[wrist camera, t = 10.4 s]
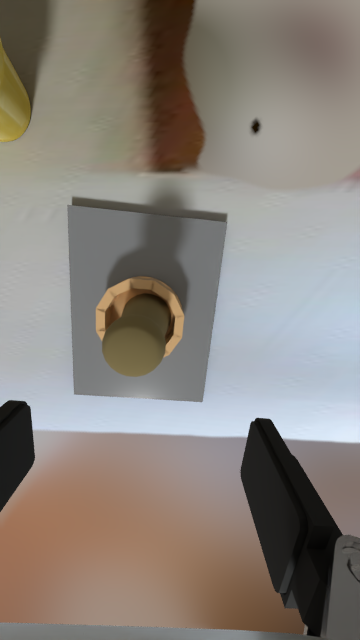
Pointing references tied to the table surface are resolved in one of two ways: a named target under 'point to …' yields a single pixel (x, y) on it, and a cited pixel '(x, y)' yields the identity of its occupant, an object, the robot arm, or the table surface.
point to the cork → (137, 336)
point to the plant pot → (12, 101)
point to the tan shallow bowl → (127, 289)
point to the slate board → (152, 261)
